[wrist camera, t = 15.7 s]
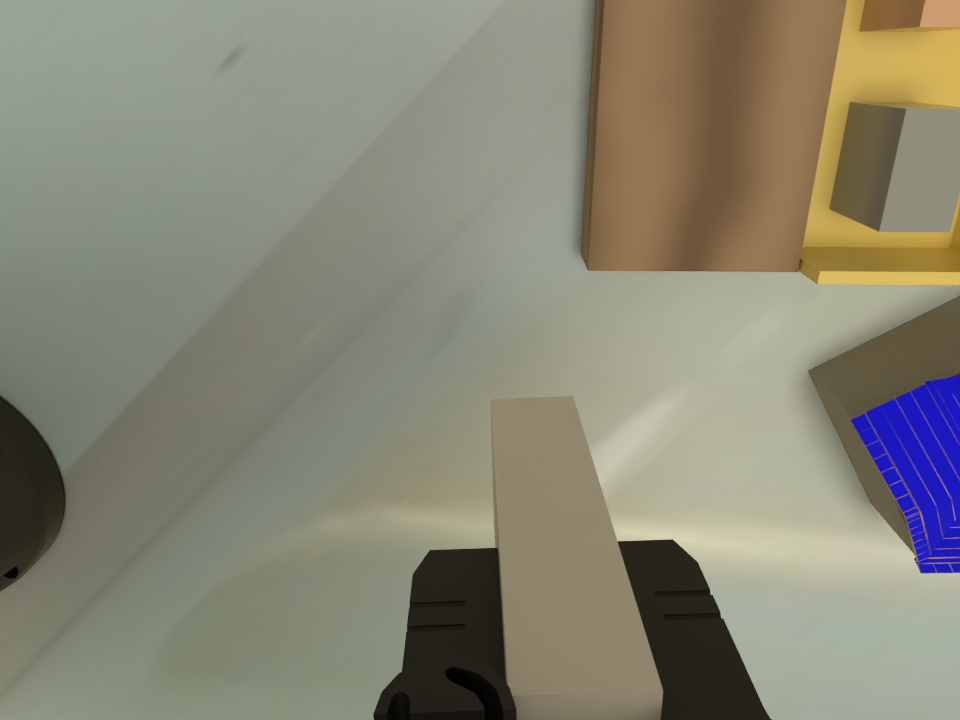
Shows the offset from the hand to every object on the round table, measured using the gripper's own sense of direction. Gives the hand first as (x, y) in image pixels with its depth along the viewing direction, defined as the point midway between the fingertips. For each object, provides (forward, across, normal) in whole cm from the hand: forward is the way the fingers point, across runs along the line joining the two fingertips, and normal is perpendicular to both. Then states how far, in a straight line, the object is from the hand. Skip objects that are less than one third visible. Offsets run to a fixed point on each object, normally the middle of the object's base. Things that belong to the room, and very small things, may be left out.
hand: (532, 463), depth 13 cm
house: (+24, +24, -11) cm, 36 cm away
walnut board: (+24, +10, +6) cm, 27 cm away
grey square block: (+21, +17, +2) cm, 27 cm away
